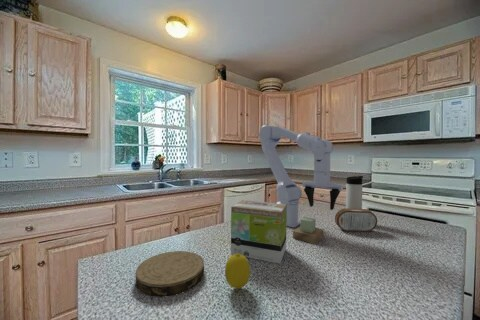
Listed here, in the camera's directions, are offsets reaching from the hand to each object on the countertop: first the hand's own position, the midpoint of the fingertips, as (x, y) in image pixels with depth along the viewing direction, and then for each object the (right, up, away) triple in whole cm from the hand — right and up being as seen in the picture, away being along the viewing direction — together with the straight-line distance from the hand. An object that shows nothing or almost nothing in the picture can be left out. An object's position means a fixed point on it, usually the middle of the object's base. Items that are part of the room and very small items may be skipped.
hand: (321, 207), depth 84 cm
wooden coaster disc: (-48, -11, -30) cm, 57 cm away
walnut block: (-6, -10, -5) cm, 13 cm away
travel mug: (+19, -9, +13) cm, 25 cm away
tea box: (-25, -10, -17) cm, 32 cm away
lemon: (-31, -11, -35) cm, 48 cm away
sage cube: (-7, -7, -5) cm, 11 cm away
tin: (+14, -10, +2) cm, 17 cm away
